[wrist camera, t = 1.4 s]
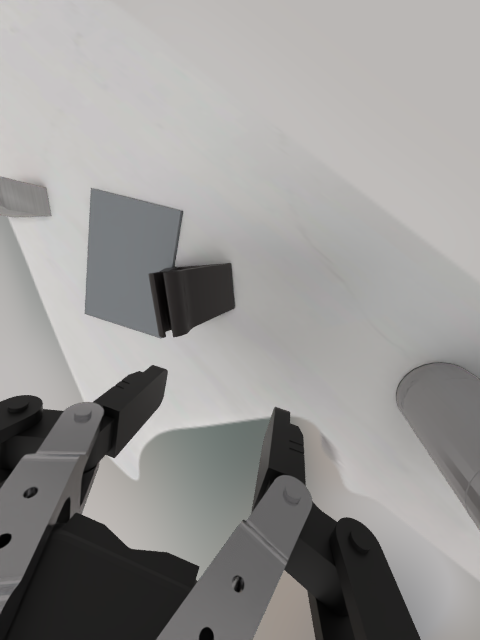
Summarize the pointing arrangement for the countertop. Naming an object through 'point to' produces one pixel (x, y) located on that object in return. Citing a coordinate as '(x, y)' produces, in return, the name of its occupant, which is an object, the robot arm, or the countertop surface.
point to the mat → (127, 258)
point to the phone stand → (190, 296)
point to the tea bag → (23, 199)
